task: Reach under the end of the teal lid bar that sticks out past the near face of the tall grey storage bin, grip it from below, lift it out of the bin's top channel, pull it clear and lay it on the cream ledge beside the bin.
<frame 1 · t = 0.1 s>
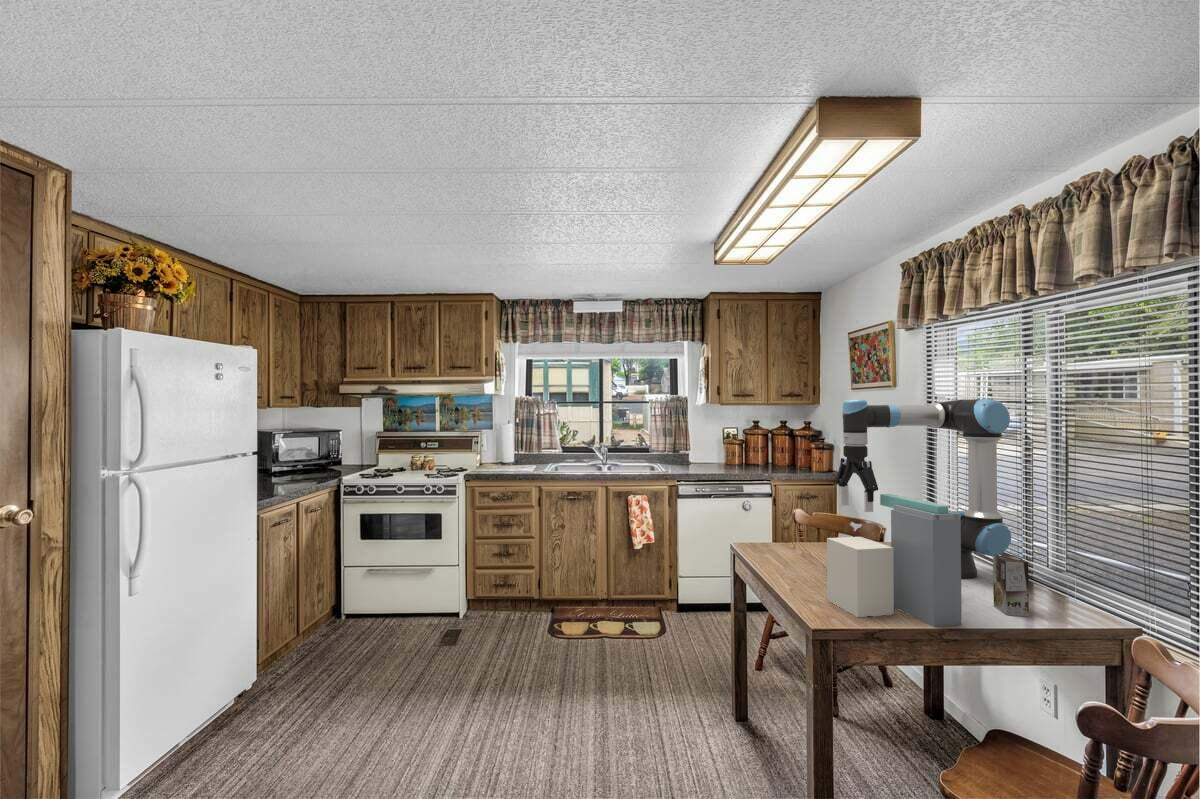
hand: (856, 508, 205), 28 cm above the table, tool pointing down, fingers open, 13 cm apart
coffee box: (1010, 611, 185), on the table
tall grey storage bin: (925, 615, 182), on the table
lid bar: (912, 511, 187), point 30 cm above the table, touching tall grey storage bin
ledge: (859, 607, 189), on the table
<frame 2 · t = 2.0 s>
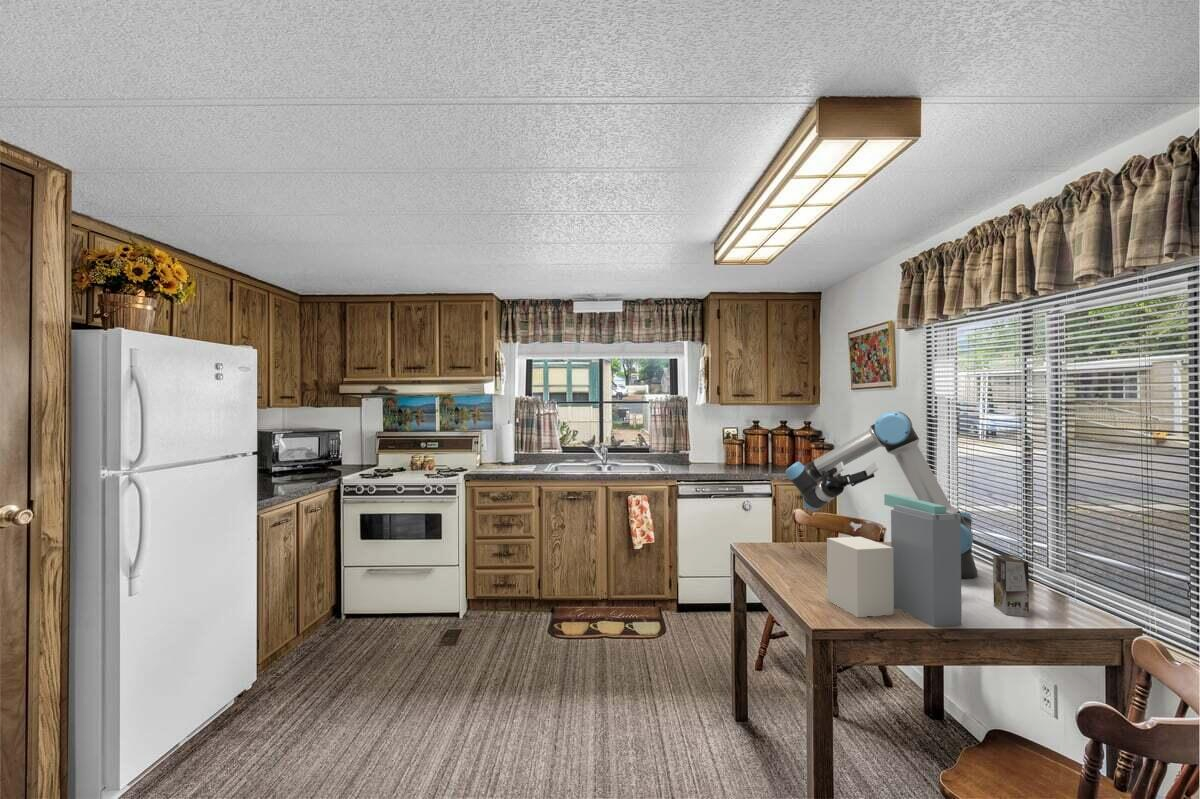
hand: (860, 465, 213), 42 cm above the table, tool pointing upward, fingers open, 13 cm apart
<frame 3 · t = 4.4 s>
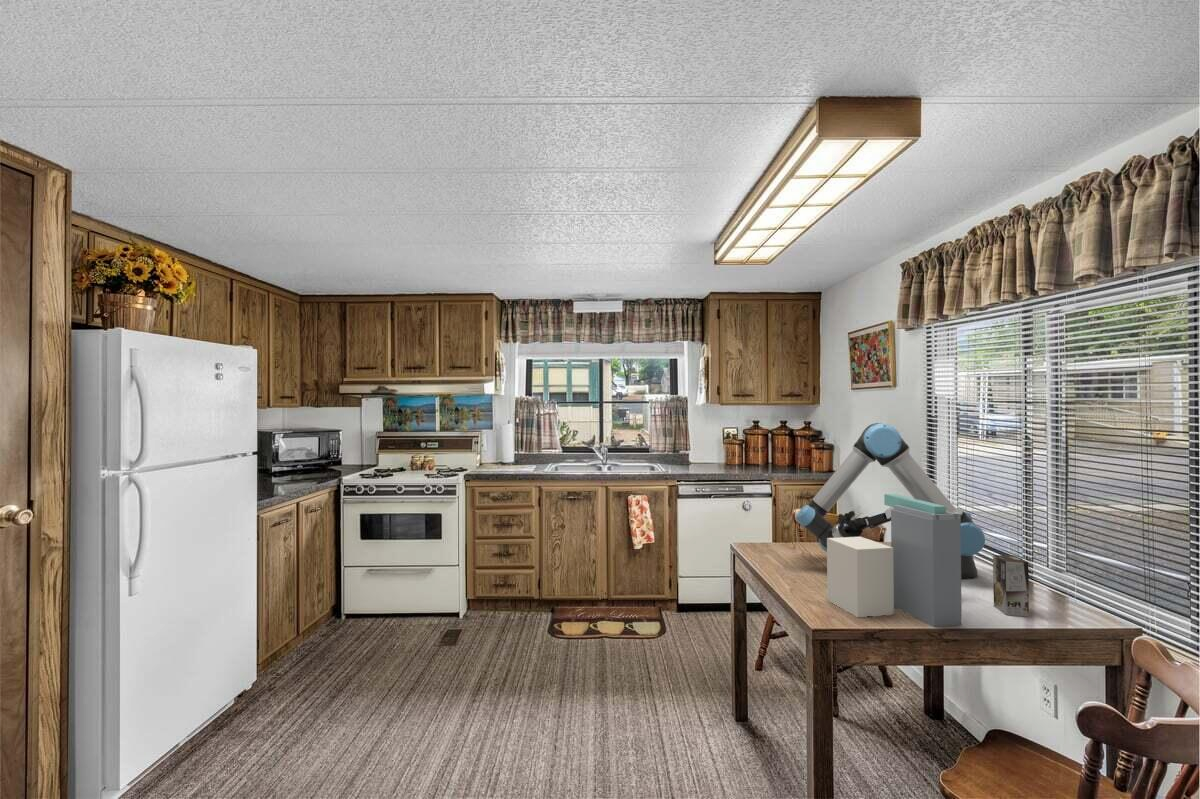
hand: (879, 508, 202), 28 cm above the table, tool pointing upward, fingers open, 13 cm apart
nothing on the table moved.
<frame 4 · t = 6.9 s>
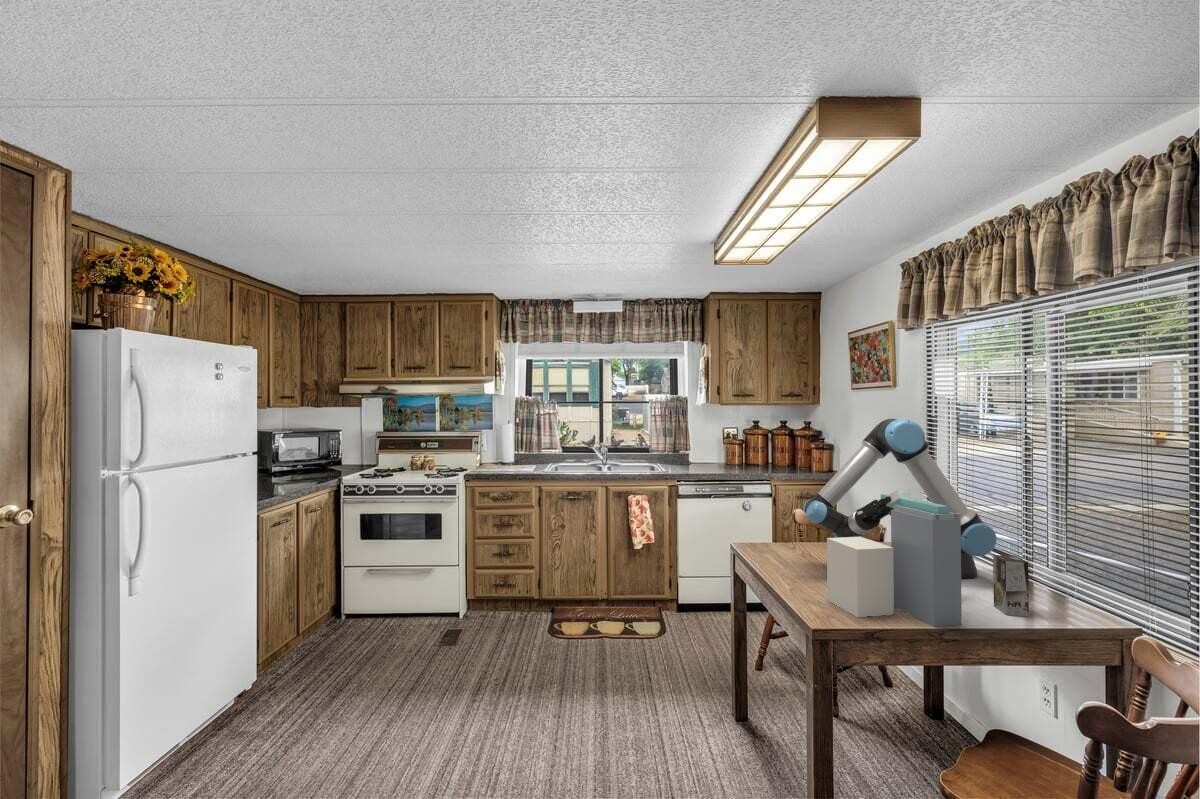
hand: (904, 494, 191), 35 cm above the table, tool pointing upward, fingers closed on lid bar, 3 cm apart
lid bar: (912, 511, 187), point 30 cm above the table, touching gripper, tall grey storage bin
everything else where it was.
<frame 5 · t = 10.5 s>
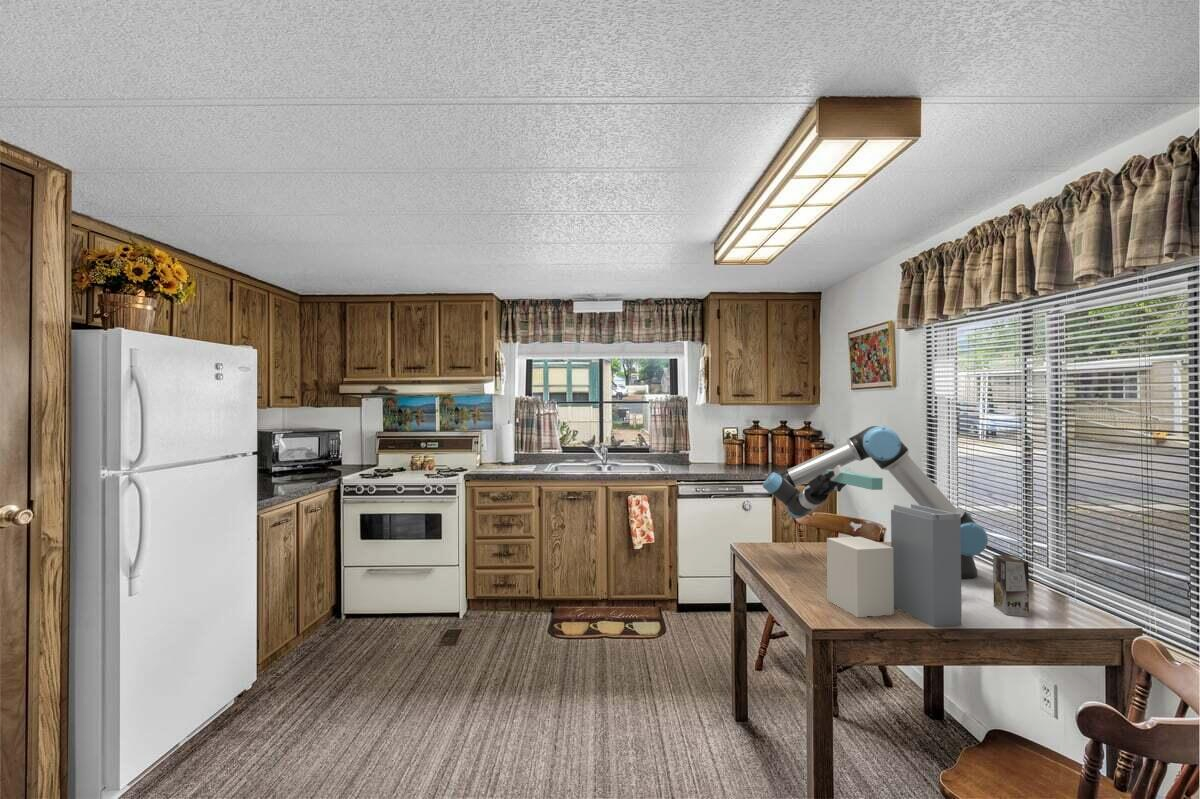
hand: (845, 468, 201), 42 cm above the table, tool pointing upward, fingers closed on lid bar, 3 cm apart
lid bar: (852, 484, 197), point 37 cm above the table, touching gripper
everything else where it was.
when the fingers open (25 cm above the table, at t = 14.2 s): lid bar stays where it is, resting on ledge.
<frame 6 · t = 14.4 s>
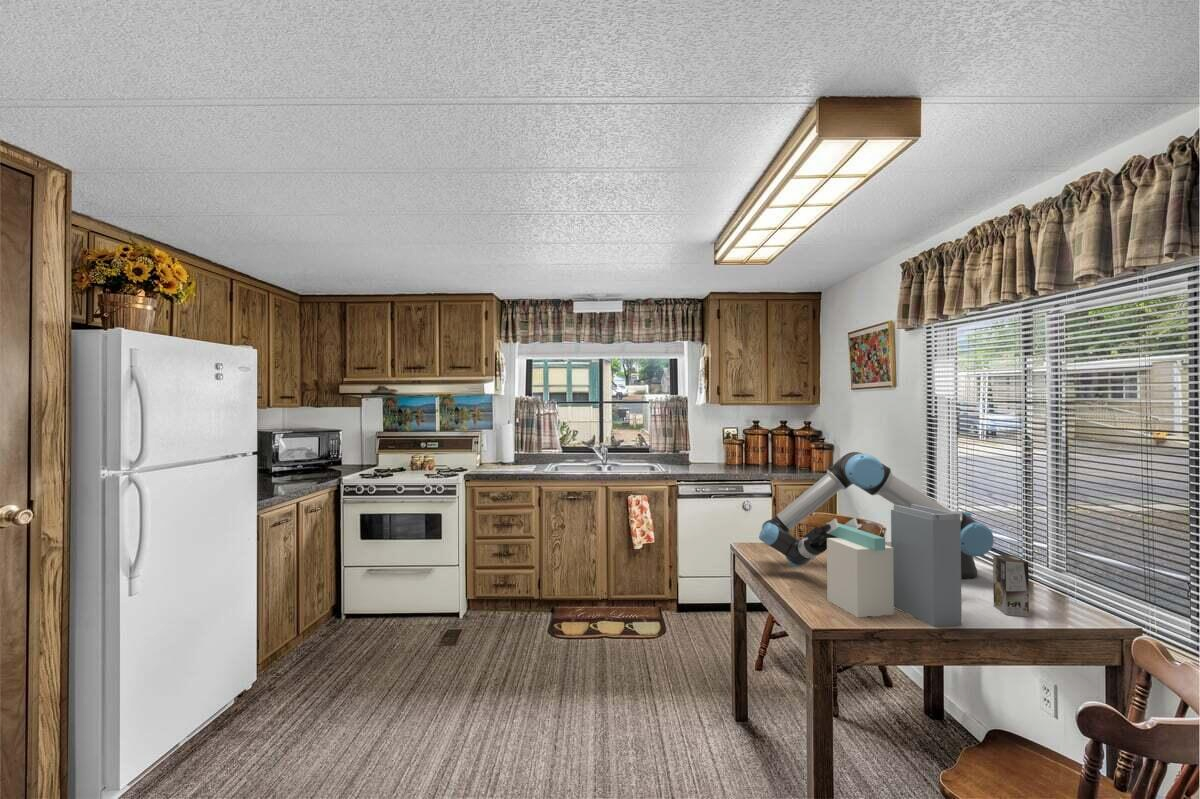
hand: (846, 522, 195), 25 cm above the table, tool pointing upward, fingers open, 6 cm apart
lid bar: (853, 541, 191), point 20 cm above the table, touching ledge
everything else where it was.
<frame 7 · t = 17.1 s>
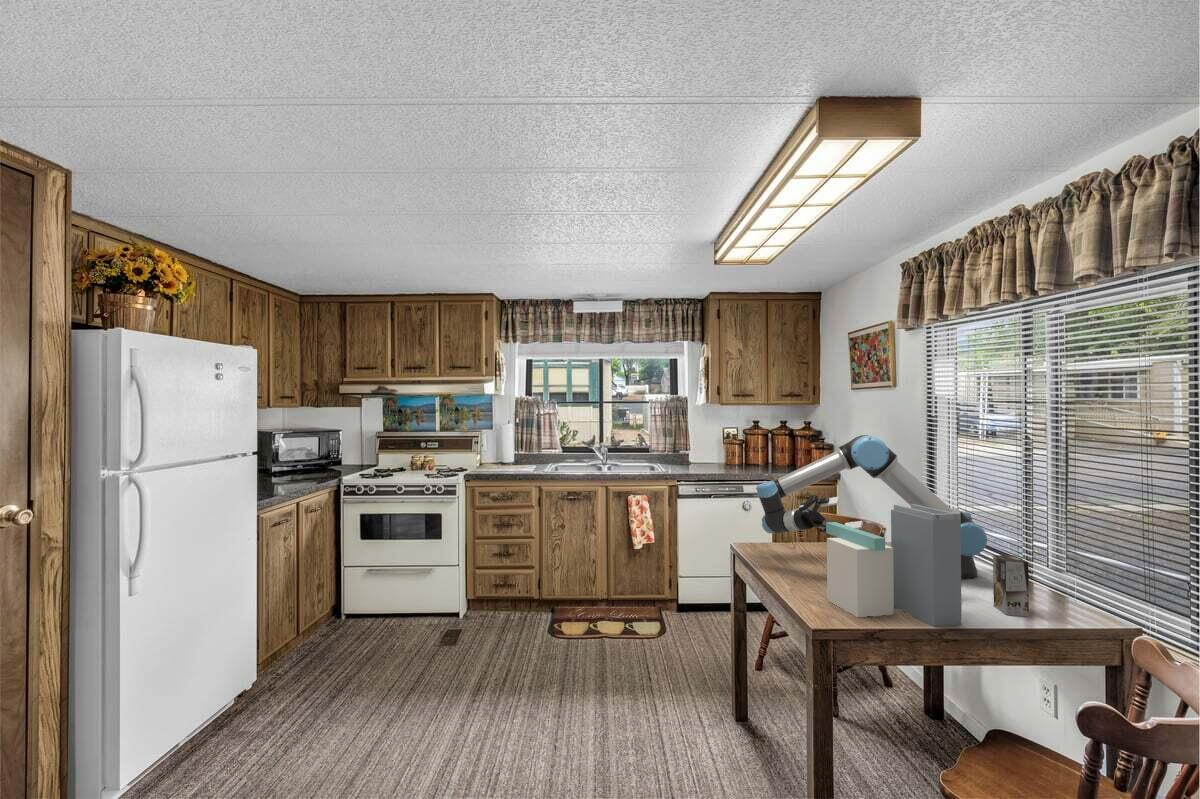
hand: (850, 512, 208), 26 cm above the table, tool horizontal, fingers open, 13 cm apart
nothing on the table moved.
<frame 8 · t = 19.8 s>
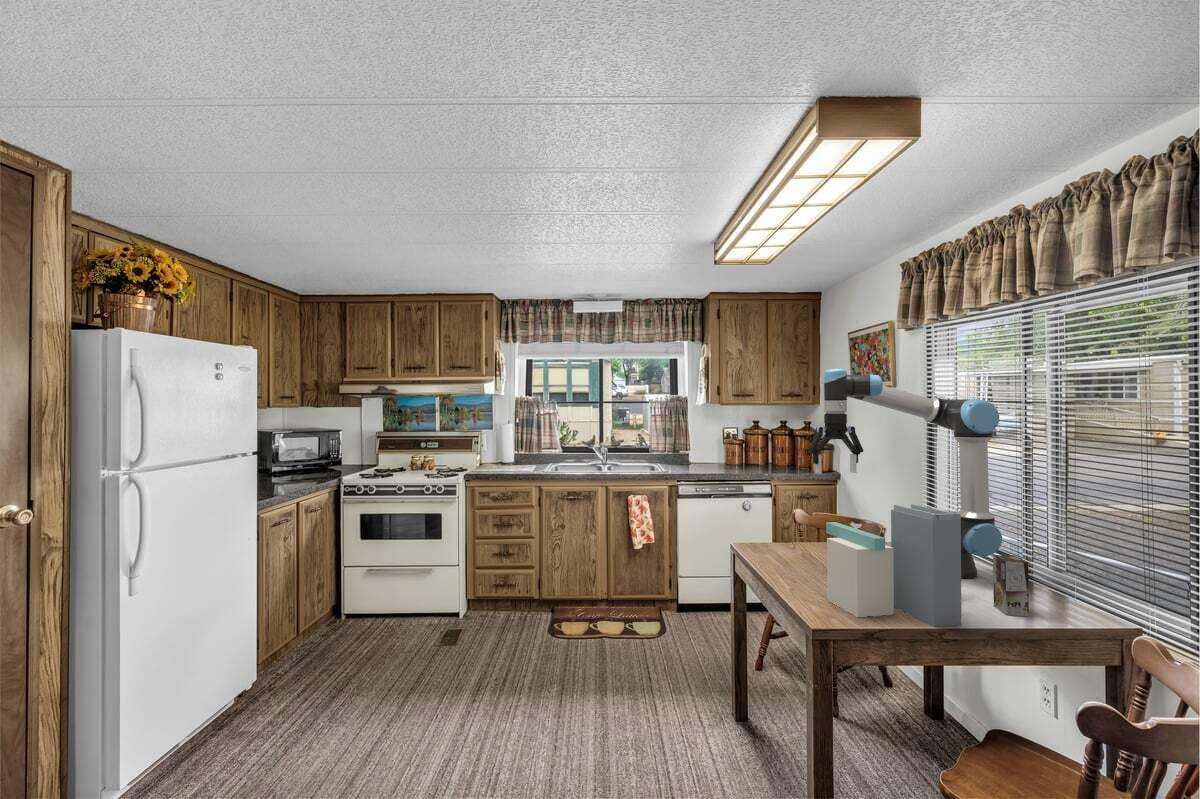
hand: (835, 473, 215), 39 cm above the table, tool pointing down, fingers open, 13 cm apart
nothing on the table moved.
at the end: lid bar inside the target area (0.1 cm from its centre), point 20.0 cm above the table; lid bar touching ledge; the gripper is holding nothing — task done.
